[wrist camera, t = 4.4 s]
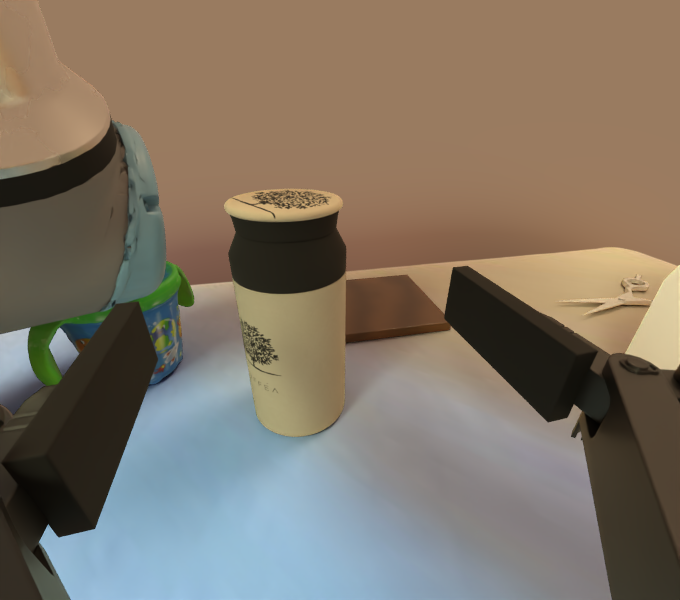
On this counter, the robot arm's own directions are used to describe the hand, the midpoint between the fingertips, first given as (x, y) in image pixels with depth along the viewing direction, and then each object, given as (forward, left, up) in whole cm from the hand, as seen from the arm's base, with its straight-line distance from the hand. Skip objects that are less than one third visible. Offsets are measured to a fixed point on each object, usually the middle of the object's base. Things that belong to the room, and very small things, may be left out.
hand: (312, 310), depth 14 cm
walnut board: (+1, +26, -15) cm, 30 cm away
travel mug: (-3, +9, -15) cm, 18 cm away
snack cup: (-20, +12, -15) cm, 28 cm away
